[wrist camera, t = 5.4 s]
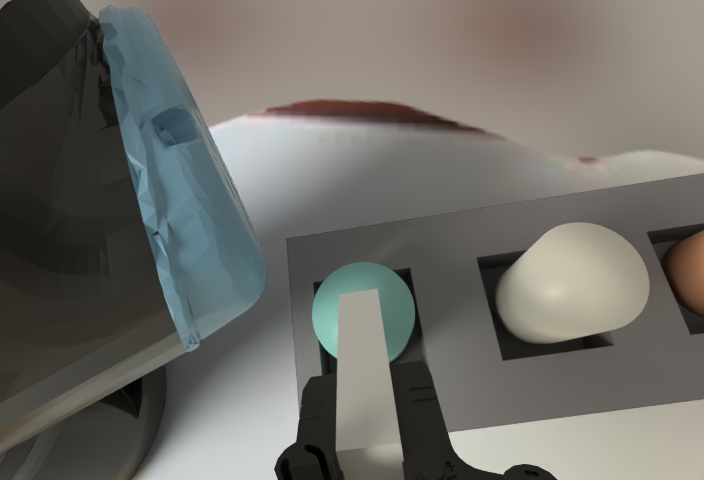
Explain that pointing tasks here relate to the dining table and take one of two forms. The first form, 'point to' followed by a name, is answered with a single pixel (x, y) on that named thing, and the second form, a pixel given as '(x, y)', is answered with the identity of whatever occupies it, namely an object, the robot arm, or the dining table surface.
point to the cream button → (572, 285)
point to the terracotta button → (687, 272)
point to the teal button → (391, 297)
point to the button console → (486, 330)
